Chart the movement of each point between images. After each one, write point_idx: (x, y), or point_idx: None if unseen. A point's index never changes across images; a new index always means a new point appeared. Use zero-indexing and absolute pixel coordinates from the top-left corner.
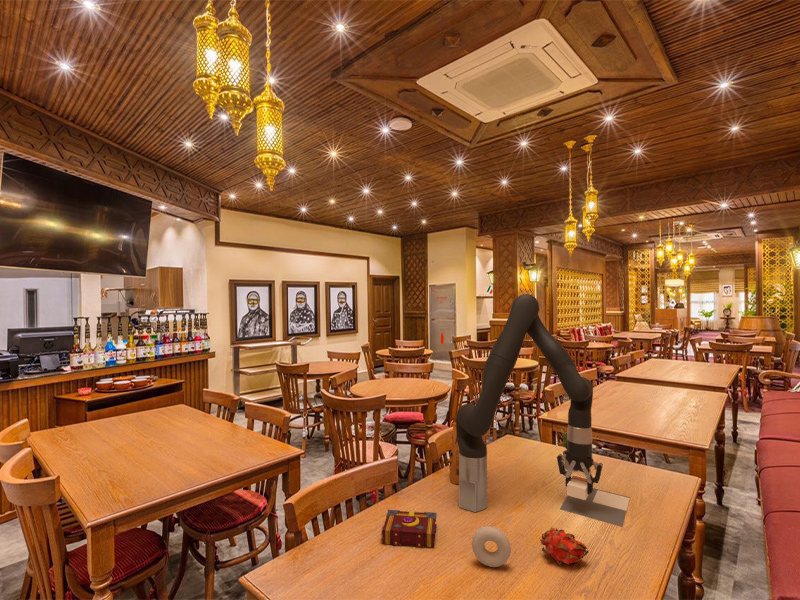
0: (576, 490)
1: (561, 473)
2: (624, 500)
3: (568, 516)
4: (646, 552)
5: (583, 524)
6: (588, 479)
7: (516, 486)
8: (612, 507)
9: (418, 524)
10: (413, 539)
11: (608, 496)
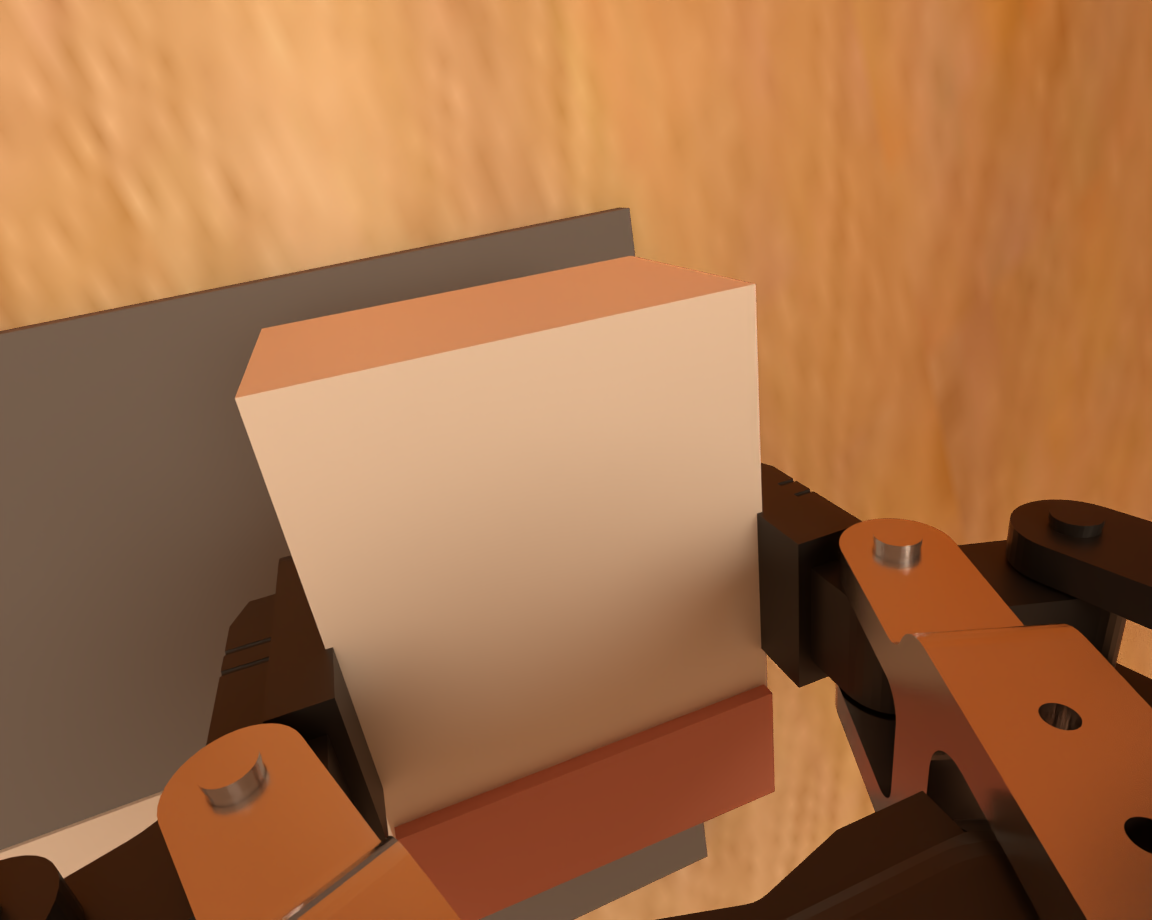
0: (486, 315)
1: (1053, 505)
2: None
3: (475, 148)
4: None
5: (196, 61)
6: (287, 810)
7: (1103, 386)
8: (157, 789)
9: None
10: None
11: None
